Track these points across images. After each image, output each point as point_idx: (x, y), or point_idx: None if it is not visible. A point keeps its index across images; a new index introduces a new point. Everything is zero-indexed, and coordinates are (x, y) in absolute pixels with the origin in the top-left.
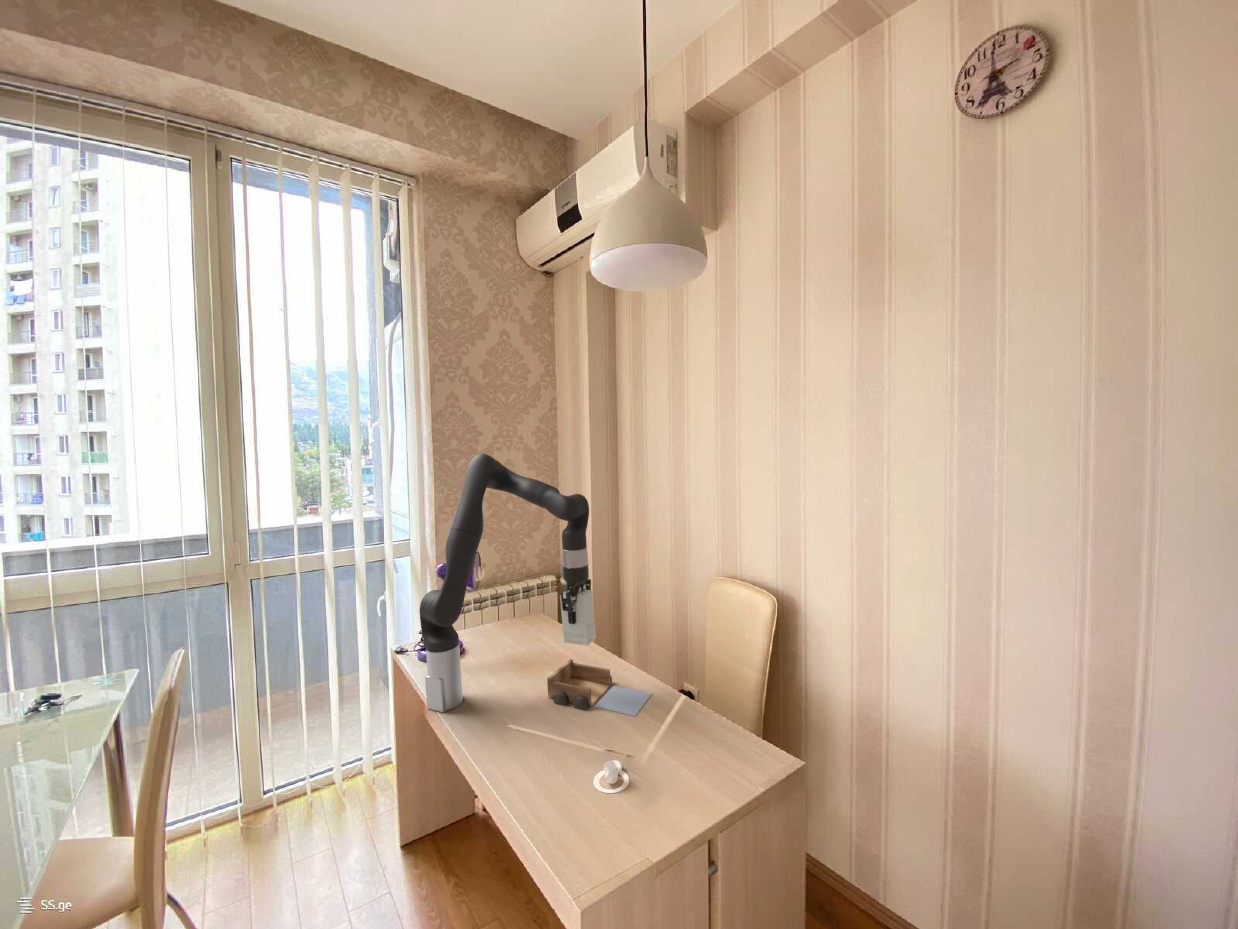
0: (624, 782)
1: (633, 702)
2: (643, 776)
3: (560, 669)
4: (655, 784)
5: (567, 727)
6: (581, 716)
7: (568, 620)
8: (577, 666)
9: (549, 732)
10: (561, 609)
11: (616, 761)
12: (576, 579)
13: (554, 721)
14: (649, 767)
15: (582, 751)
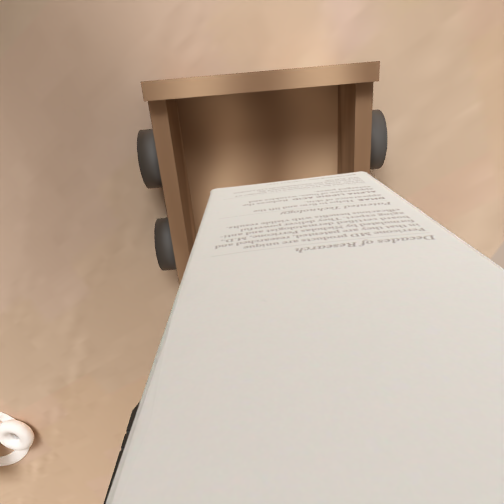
0: (3, 458)
1: None
2: (46, 475)
3: (252, 87)
4: (42, 497)
5: (77, 246)
6: (151, 250)
7: (132, 418)
8: (353, 120)
9: (21, 212)
10: (154, 370)
11: (23, 440)
12: None
13: (76, 188)
14: (77, 473)
15: (21, 341)
